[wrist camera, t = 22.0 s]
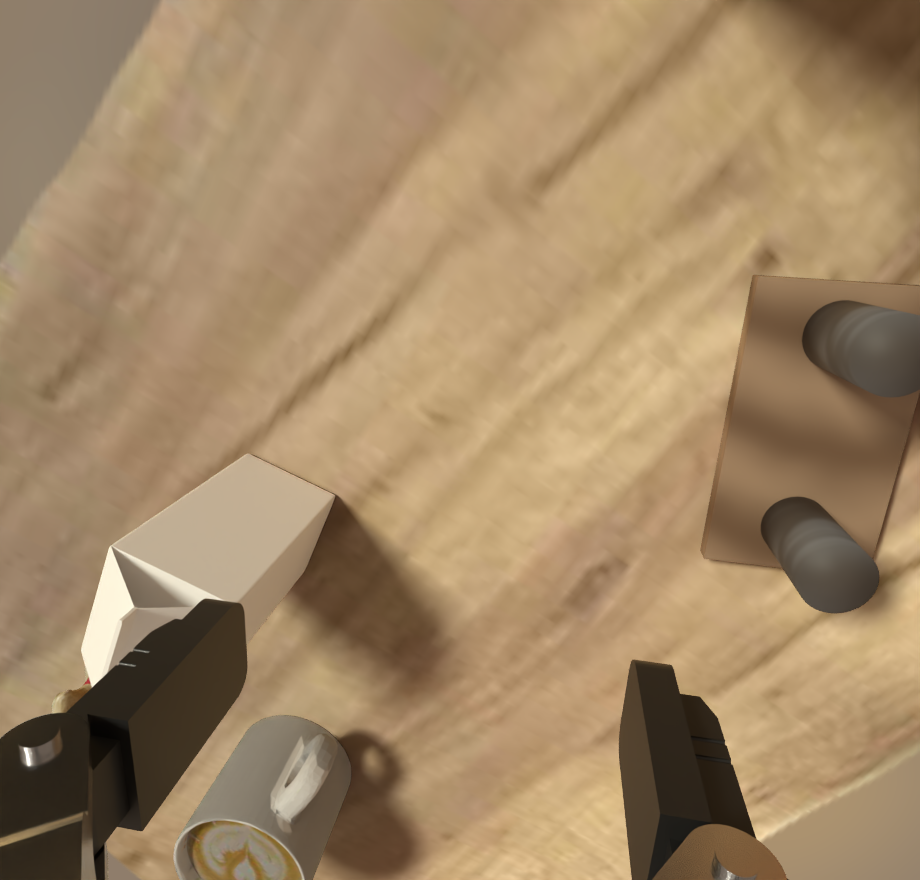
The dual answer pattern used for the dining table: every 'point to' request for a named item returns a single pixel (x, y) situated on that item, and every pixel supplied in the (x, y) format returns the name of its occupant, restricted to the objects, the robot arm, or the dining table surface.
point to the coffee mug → (268, 806)
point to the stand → (816, 432)
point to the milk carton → (207, 557)
